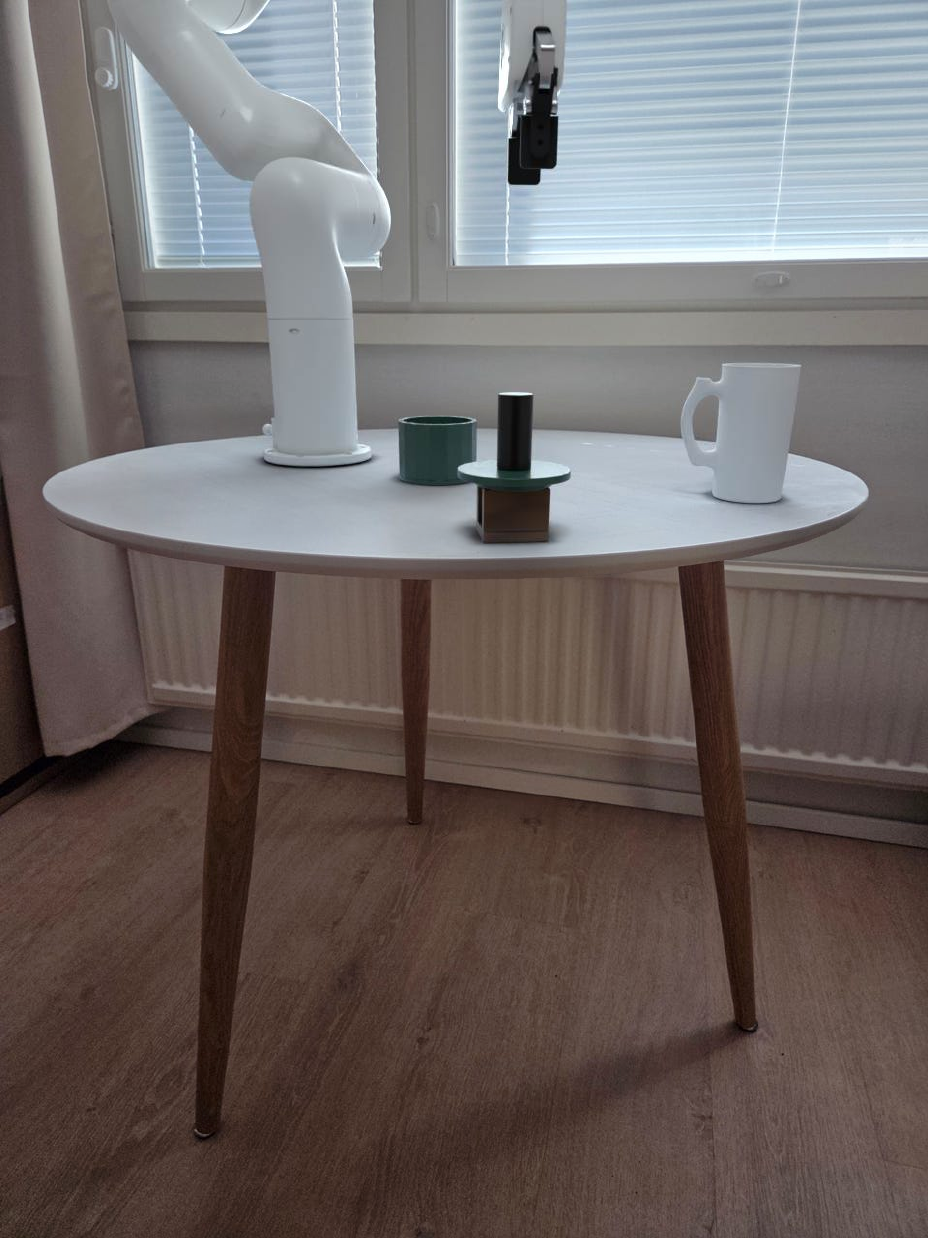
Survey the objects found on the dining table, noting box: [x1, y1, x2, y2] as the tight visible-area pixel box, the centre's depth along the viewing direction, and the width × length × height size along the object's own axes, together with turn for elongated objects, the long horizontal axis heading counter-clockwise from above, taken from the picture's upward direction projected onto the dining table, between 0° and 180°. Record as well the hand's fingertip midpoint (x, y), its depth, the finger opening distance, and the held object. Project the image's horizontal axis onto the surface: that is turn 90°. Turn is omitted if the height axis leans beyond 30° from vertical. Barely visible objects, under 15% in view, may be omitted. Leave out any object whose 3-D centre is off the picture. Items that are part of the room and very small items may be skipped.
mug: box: [680, 362, 802, 504], centre depth 78 cm, size 10×7×12 cm, turn 84°
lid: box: [457, 391, 572, 492], centre depth 63 cm, size 9×9×7 cm
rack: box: [475, 485, 551, 544], centre depth 65 cm, size 5×4×4 cm
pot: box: [397, 415, 478, 486], centre depth 88 cm, size 8×8×6 cm
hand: (530, 176), depth 78 cm, fingers open, 9 cm apart
